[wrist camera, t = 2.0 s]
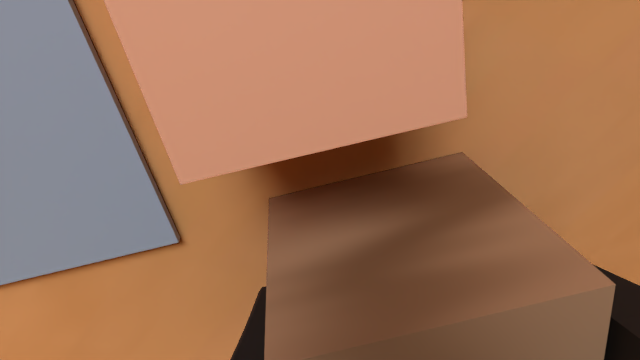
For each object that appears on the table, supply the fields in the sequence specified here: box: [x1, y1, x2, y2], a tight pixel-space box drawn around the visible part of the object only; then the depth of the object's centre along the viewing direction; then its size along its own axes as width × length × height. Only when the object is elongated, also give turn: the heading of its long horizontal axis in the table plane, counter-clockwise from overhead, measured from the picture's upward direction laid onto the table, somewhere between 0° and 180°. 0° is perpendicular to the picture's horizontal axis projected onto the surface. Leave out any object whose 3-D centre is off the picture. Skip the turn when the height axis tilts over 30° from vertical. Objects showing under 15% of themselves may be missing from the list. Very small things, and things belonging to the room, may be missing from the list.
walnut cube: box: [264, 152, 616, 360], centre depth 9 cm, size 5×5×5 cm
